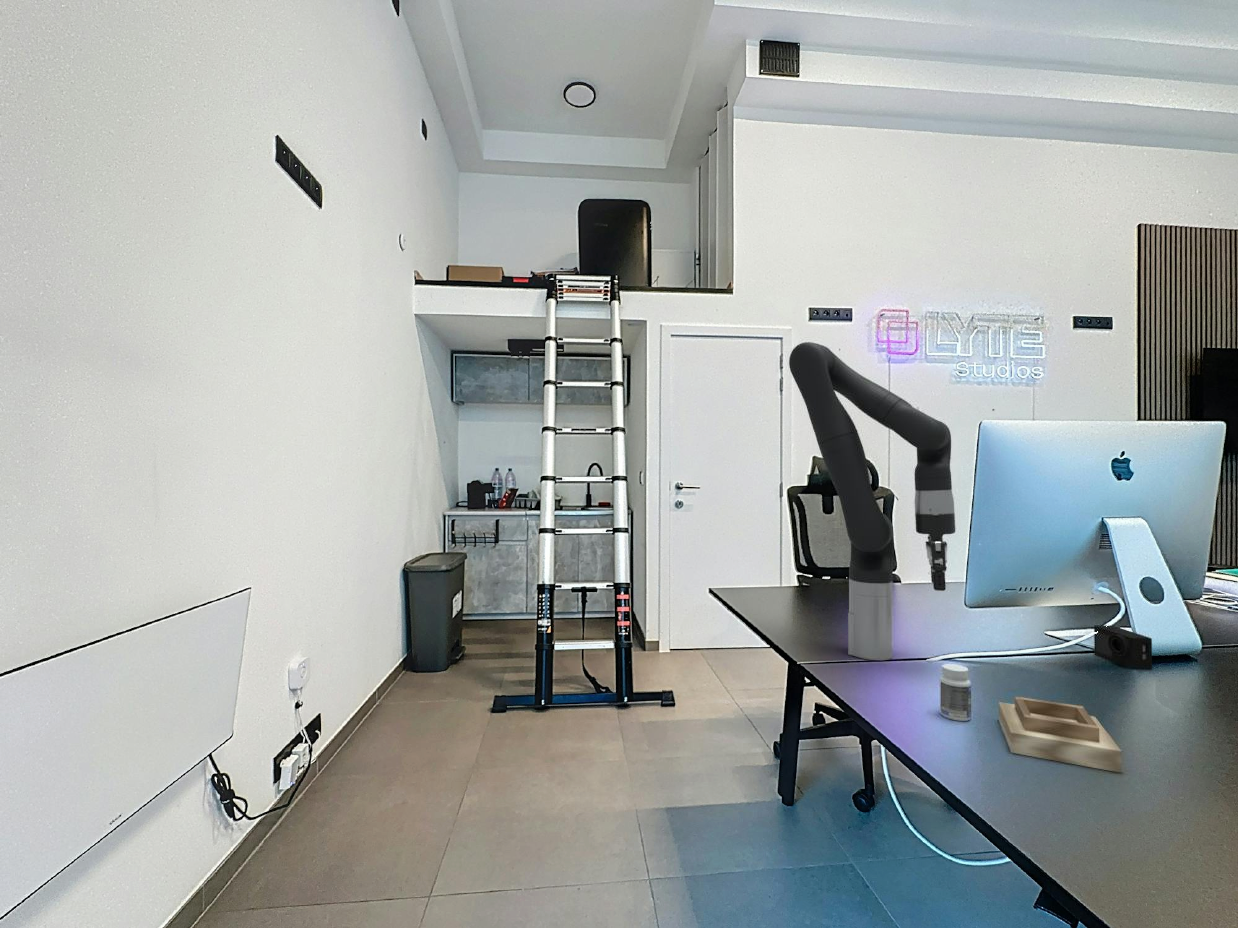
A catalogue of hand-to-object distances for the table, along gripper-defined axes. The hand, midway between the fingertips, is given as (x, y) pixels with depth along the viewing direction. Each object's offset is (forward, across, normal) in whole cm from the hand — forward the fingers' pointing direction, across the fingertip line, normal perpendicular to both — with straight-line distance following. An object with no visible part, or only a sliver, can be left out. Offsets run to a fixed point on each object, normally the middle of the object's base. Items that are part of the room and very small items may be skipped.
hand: (938, 586), depth 125 cm
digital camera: (+20, -23, +36) cm, 47 cm away
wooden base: (+18, +31, +13) cm, 39 cm away
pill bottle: (+18, +26, 0) cm, 32 cm away
